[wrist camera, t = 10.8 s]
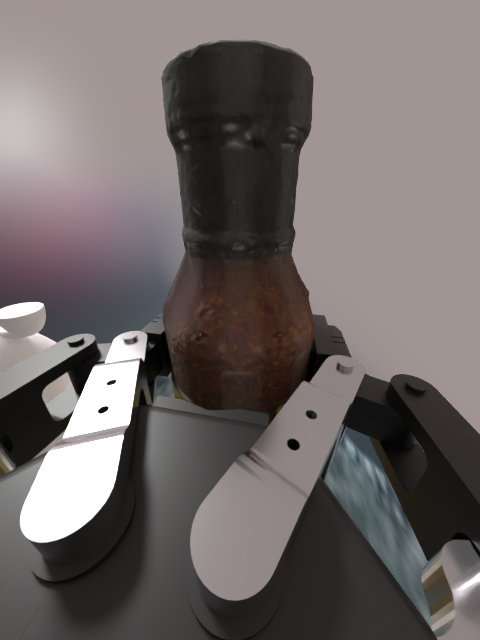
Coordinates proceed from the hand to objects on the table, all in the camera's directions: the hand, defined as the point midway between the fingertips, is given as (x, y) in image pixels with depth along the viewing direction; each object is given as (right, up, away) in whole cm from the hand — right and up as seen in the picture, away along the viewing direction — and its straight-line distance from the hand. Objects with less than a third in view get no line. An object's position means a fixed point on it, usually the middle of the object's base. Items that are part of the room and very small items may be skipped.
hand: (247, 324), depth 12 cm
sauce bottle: (-1, -11, +3) cm, 11 cm away
